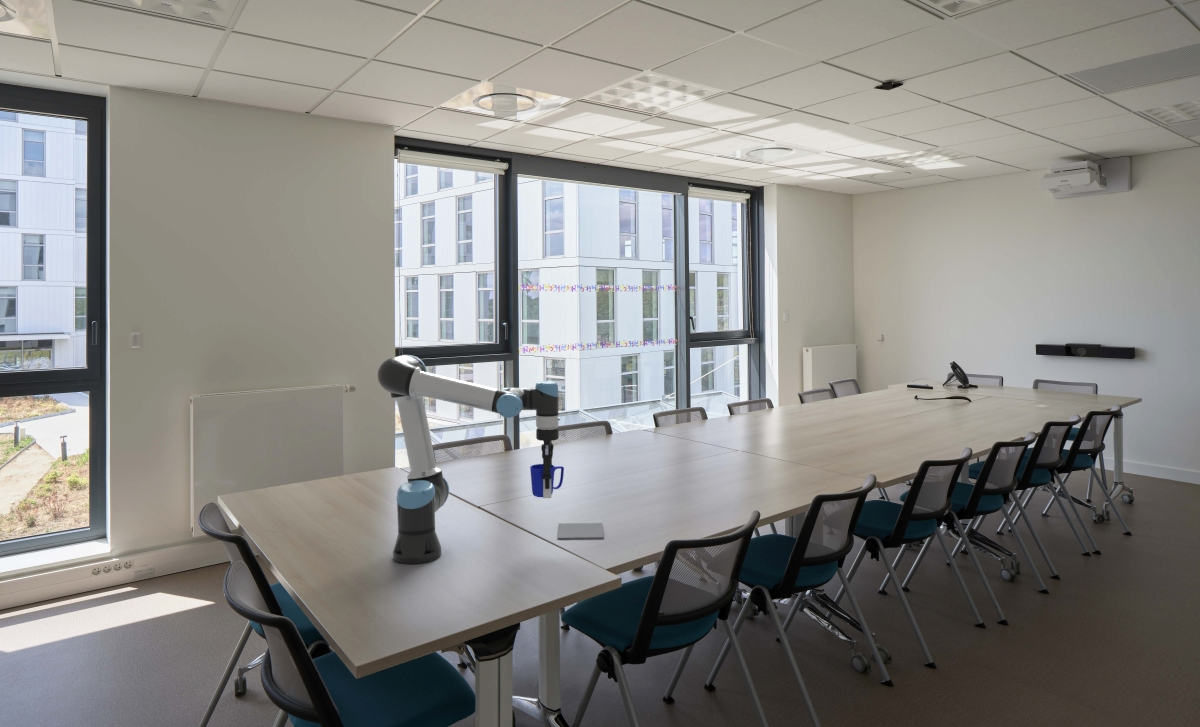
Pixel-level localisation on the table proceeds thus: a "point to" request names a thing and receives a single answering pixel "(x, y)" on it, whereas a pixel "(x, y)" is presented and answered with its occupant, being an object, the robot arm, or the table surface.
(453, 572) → the table surface
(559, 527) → the coaster
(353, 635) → the table surface
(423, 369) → the robot arm
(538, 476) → the mug
